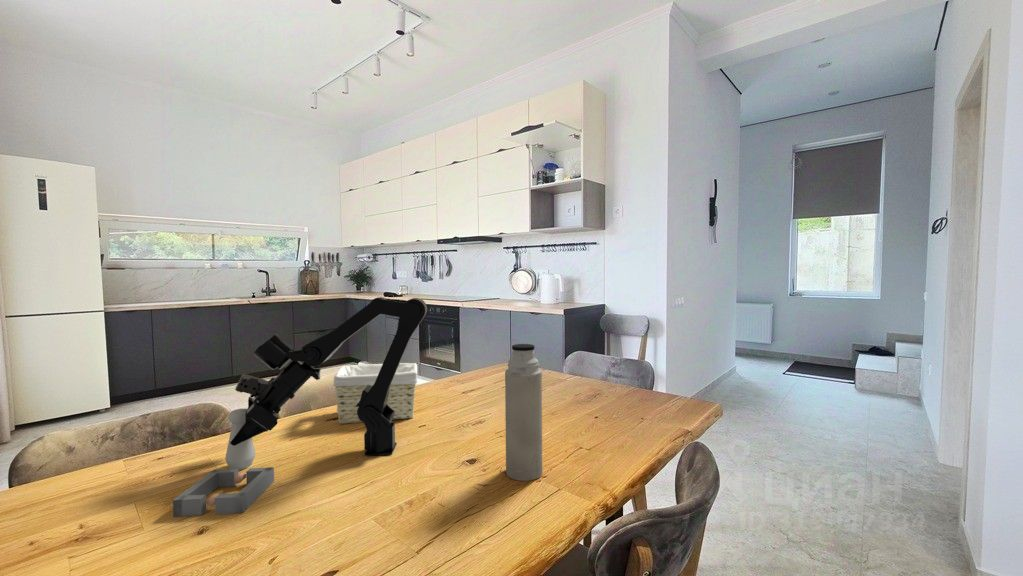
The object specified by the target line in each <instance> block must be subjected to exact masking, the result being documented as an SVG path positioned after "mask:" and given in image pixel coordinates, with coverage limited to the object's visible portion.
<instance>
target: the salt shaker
mask: <svg viewBox="0 0 1023 576" xmlns="http://www.w3.org/2000/svg"><path fill="white" fill-rule="evenodd" d="M247 410H248V409H247V408H237V409H234V410H231V411H230V412H229V413H228V416H227V419H228V421H229V423H231V427H230V434H229V436H228V437H229V439H228V443H227V448H226V452H225V453H226V454H225V458H224V459H225V463H226V465H227V466H228V469H238V471H241V470H246V469H247V468H249V467H251V466H252V465H253V462H254V460H255V457H256V450H255V445H254V440H253V437H252V438H250V439H248V440H245V441H243V442H241V443H239V444H237V445H235V446H233V445H232V444H230V442H231V441H232V439H233V438H234V436H235V435H236V434H237V432H238V431H239V430H240V428H241V427H242V426H243V424H244V423H245V414H246V411H247Z"/></svg>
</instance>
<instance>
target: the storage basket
mask: <svg viewBox="0 0 1023 576" xmlns="http://www.w3.org/2000/svg"><path fill="white" fill-rule="evenodd" d="M382 365H383V363H375V364H373V363H372V364H371V363H369V364H354V365H353V364H352V365H342V366H341V367H340V368H339V369H338V370H337V372H336V373H335V376H334V378H333V386H334V387H335V395H336V407H337V408H336V411H337V417H338V423H339V424H352V423H363V422H362V421H361V420H360V419H359V417H358V415H357V410H358V407H356V405H357V404H358V402H359V401H360V399H361V395H362V392H363V390H364V389H365V388H366V386H367V385H370V386H373V385H374V383H375V381H376V379H377V376H378V374H379V372H380V369H381V367H382ZM417 383H418V364H417V363H416V362H412V363H411V362H400V364H399V366H398V368H397V371H396V373H395V375H394V378H393V380H392V382H391V385H390V389H389V395H388V400H387V405H388V406H389V407H390V408H392V409H393V410H394V411H395V414H394V417H393V420H404V419H413V418H414V409H415V408H414V405H415V395H416V394H415V393H416V392H415V391H416V384H417Z"/></svg>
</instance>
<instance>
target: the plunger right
mask: <svg viewBox="0 0 1023 576" xmlns="http://www.w3.org/2000/svg"><path fill="white" fill-rule="evenodd" d="M245 479H246V472H244V471H242V472H238V475H237V476H235V477H234V482H235V483H238V484H241V483H242V482H243V481H244V480H245Z"/></svg>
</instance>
